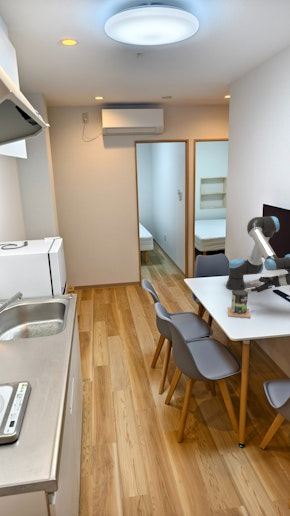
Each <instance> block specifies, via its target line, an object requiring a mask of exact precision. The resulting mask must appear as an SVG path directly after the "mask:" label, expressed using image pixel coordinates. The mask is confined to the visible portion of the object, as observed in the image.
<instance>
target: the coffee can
mask: <svg viewBox="0 0 290 516" xmlns="http://www.w3.org/2000/svg"><path fill="white" fill-rule="evenodd" d="M248 294H249V293H248V292H247V291H246V290H245V289H244V290H231V306H230V307H231V312H232V313H233V314H237V315H244V314H246V313H247V308H248V297H249V295H248Z"/></svg>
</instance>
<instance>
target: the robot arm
mask: <svg viewBox="0 0 290 516" xmlns="http://www.w3.org/2000/svg"><path fill="white" fill-rule="evenodd" d="M246 225H247V226H246V232H247V234H248V236H249V237H250V238H252V240H253V241H254V245H253V249H252V250H251V252H250V253H251V254H250V255H249V256H248V257H247V259H246V260H245V258H234V259H231V260H230V261H229V263H228V264H229V265H228V279H227V281H226V284H225V287H226V288H225V289H228V290H231V291H233V290H244V291H247V292H248V294H249V293H253V292H257V293H260V292H264V291H266V290H270V289H273V287H275V288H280V287H287V286H290V253H289V254H286V255H284V257H280V258H279V257H278V256H277V255H276V252H275V251H274V250H273V247H272V246H271V245H270V243H269V240H270V238H272V237H273V236H274V233H277V232H279V230H280V222H279V219H278V217H276V216H271V215H269V216H255V217H253V218H251V219H250V220H248V223H247V224H246ZM263 259H264V261H263ZM264 269H265V270H266V271H271V272H272V271H282V270H286V271H287V273H283V274H279V275H273V276H260V277H259V278H255V279H250V280H249V284H250V285H255V284H260V283H263V284H261V285H259V286H254V287H249V288H246V284H245V280H244V278H245V277H244V276H246V275H247V276H248V275H249V276H250V275H259V274H261V273H262V272H263V270H264Z"/></svg>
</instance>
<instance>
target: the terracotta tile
mask: <svg viewBox="0 0 290 516" xmlns="http://www.w3.org/2000/svg"><path fill="white" fill-rule="evenodd" d="M227 316H228V318H240V319H251V314H250V308H248V307H247V313H246V314H244V315H237V314H233V313H232V312H231V306H228V307H227Z"/></svg>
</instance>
